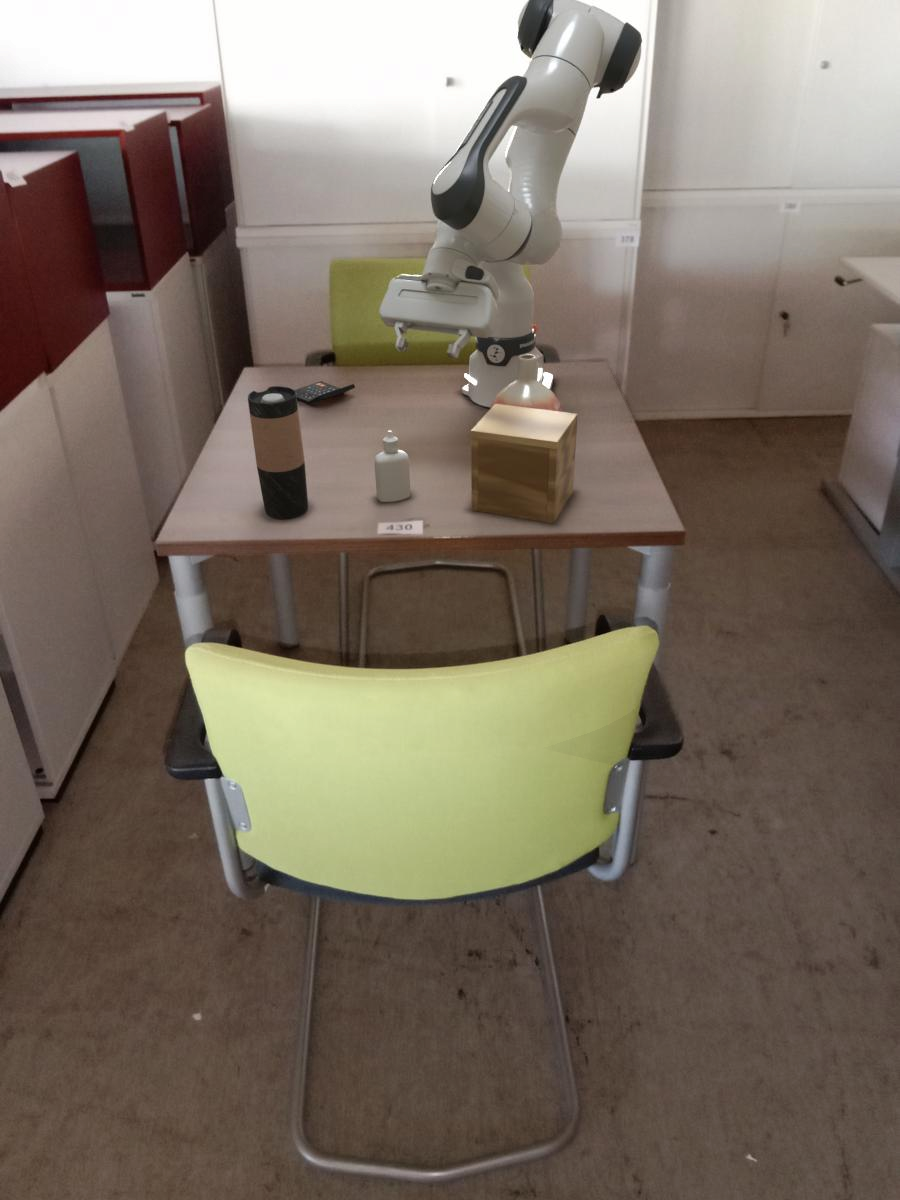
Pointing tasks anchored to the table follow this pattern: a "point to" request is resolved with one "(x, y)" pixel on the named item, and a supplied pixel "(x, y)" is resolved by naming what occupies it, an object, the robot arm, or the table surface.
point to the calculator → (319, 392)
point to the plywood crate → (523, 462)
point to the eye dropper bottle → (392, 471)
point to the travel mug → (279, 452)
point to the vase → (527, 389)
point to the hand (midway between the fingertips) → (425, 353)
